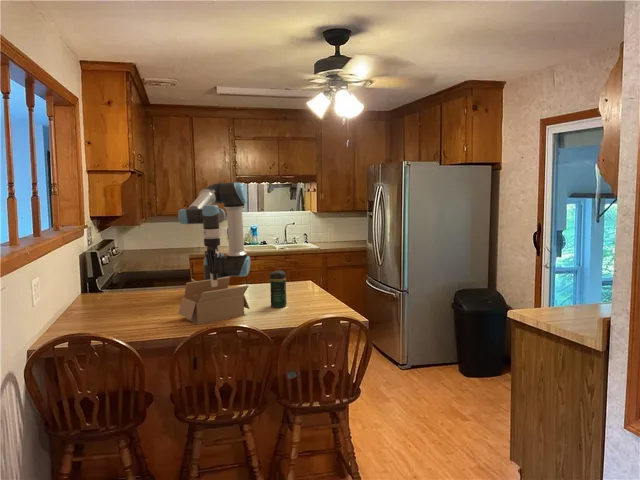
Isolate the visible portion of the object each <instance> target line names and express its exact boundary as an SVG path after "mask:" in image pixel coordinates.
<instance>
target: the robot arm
mask: <svg viewBox="0 0 640 480" xmlns="http://www.w3.org/2000/svg"><path fill="white" fill-rule="evenodd" d="M197 196H198V197H197V198H196V199H194V201H193V202H192V203H191V204H190V205H189V206H188V208H181V209H179V210H178V214H177V215H178V217H177V218H178V221H179V223H180V224H181V225H200V224H201V225H202V226H203V227H202V229H203V231H202V233H203V247H206V250H205V251H204V255H205V257H204V258H203V276H204V278H203V280H210V279H211V287H216V286H218V285H217V278H224V277H230V278H232V277H236V278H237V277H238V278H241V277H246V276H248V275H249V273H250V269H251V256H249V255H248V252H247V251H246V250H245V241H244V240H245V239H244V224H243V222H244V221H243V208H245V204H246V203H247V202H248V194H247V189H246V186H245V185H244V184H243V183H242V182H234V181H233V182H215V183H212V184H209V185H207V186H205V187H203V188H202V189H201V190H200V191H199V193H198V195H197ZM218 204H219V205H220V204H223V208H224V209H225V210H226V212H225V210H224V209H222V208H221V207H219V205H218ZM226 218H227V219H226ZM225 219H226V221H227V237H228V238H227V239H228V240H227V241H228V252H227V253H226V256H225V255H224V253H221V252H219V249H218V247H219V246H221V238H220V237H221V232H220V231H221V230H220V223H222V222H224V220H225Z"/></svg>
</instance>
